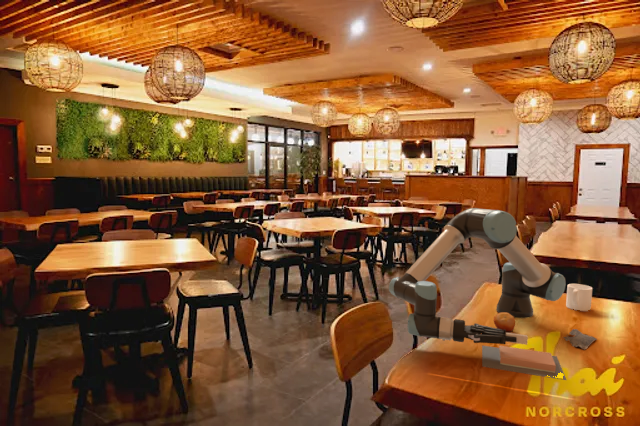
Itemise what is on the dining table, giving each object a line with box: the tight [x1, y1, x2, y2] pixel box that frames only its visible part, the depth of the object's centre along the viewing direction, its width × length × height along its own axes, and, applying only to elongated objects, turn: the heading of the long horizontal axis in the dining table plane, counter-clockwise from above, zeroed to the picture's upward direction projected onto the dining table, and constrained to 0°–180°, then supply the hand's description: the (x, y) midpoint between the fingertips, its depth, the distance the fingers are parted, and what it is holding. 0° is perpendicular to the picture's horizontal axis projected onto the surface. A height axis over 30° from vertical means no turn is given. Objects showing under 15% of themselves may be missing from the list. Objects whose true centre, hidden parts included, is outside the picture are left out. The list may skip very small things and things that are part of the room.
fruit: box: [493, 312, 516, 333], centre depth 171 cm, size 8×8×8 cm
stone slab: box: [561, 328, 598, 351], centre depth 162 cm, size 18×2×10 cm
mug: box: [565, 283, 593, 312], centre depth 200 cm, size 13×10×10 cm
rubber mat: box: [481, 345, 567, 381], centre depth 142 cm, size 24×18×1 cm
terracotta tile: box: [498, 345, 556, 373], centre depth 141 cm, size 2×10×16 cm
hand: (527, 339), depth 141 cm, fingers closed
